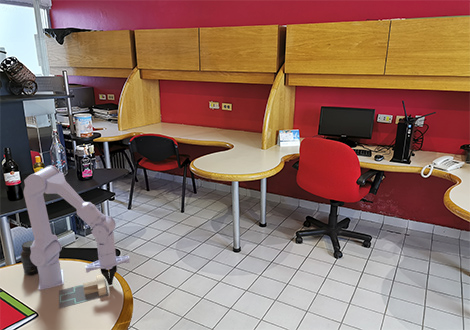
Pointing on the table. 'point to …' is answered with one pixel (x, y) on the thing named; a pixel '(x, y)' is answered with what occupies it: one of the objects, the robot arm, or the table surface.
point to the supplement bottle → (28, 259)
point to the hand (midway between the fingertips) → (110, 283)
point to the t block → (95, 286)
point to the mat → (76, 296)
